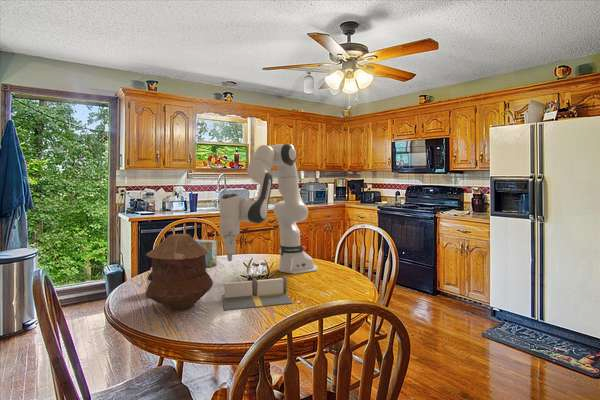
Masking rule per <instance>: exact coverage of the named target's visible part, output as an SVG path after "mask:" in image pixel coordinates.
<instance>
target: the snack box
mask: <svg viewBox="0 0 600 400" xmlns="http://www.w3.org/2000/svg"><path fill="white" fill-rule="evenodd" d="M193 239H194V240H195V241H196V242H197V243H198V244H199V245H201V246H202V247H203V248H205V249H206V250H207V251H208V253H207V254H205V262H206V268H214V267H216V266H217V258H218V257H217V240H210V239H196V238H193Z"/></svg>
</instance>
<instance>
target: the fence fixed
mask: <svg viewBox="0 0 600 400" xmlns="http://www.w3.org/2000/svg"><path fill="white" fill-rule="evenodd" d="M252 281H253V283H252V292H253V296H257V294H258V295H261V294H271V293H282V292H283V293H286V294H287V276H285V275H283V276H282V277H280V278H267V279H257V278H252Z"/></svg>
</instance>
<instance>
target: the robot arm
mask: <svg viewBox="0 0 600 400" xmlns="http://www.w3.org/2000/svg"><path fill="white" fill-rule="evenodd" d="M297 156H298V155H297V149H296V148H295V146H294V145H293V144H291V143H284V144H283V143H277V144H272V145H267V144H263V145H262V144H261V145H259V146H258V147H257V149H256V150H255V151H254V153H253V155H252V157H251V159H250V162H249V163H248V166H247V175H248V176H249V178H250V179H251V180H252V181H253V182H255V183H257V184H259V186H260V187H259V191H258V195H257V199H255V200H244V199H242V198H240V197H239V194H237V193H227V194H224V195H222V196H221V197H220V200H219V201H220V202H219V216H220V217H219V218H220V220H219V235H220V236H222V239H223V245H224V248H225V252H226V255H227V257H226V258H227V262H232V261H233V256H234V255H236V252H237V251H236V250H237V248H236V239H237V237H238V236H237V235H240V234H241V232H240V229H241V227H240V226H241V225H240V222H245V223H246V222H247V223H253V224H262V223H263V222H265V220H266V218H267V217H268V214H269V202H270V197H271V193H272V186H273V175H272V174H271V170H272V167H275V166H277V182H278V183H277V185H278V186H277V187H278V192H279V193H280V196H281V197H282V198H283V200H280V201H277V202H276V203H275V204H274V206H273V213H274V215H275V216H276V217H275V218H276V219H277V222H278V226H279V230H280V231H279V233H280V245H279V255H280V257H279V263H278V268H277V270H278V272H282V273H288V274H292V275H295V274H304V273H309V272H316V271H318V266H317V265H315V263H314V260H313V258H312V256H310V255H309V254H308V253H307V252H305V251H306V249H307V247H306V246H305V245H302V244H301V230H300V229H299V227H298V225H297V223H299V222H303V221H306V219H307V218H308V216H309V209H308V207H307V205H306V204H305V203H304V200H303V198H302V196H301V193H300V189H299V178H298V168H297V164H296V161H297Z"/></svg>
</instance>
